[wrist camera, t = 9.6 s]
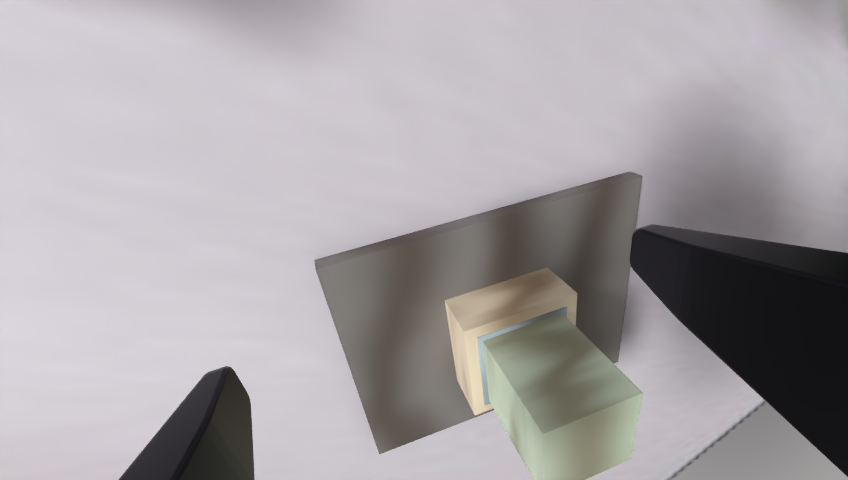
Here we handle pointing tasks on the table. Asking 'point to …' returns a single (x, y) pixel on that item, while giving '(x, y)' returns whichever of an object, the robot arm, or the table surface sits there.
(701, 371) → the table surface
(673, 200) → the table surface
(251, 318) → the table surface
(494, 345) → the sage block
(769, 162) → the table surface
